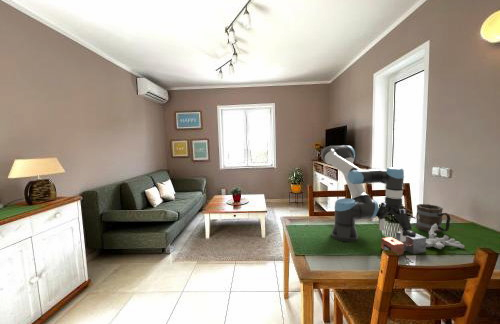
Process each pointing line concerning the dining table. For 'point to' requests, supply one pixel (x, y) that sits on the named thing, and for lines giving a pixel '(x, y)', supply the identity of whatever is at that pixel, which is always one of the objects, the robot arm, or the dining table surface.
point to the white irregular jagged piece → (440, 240)
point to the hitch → (412, 243)
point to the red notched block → (392, 244)
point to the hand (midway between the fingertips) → (391, 235)
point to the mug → (430, 217)
